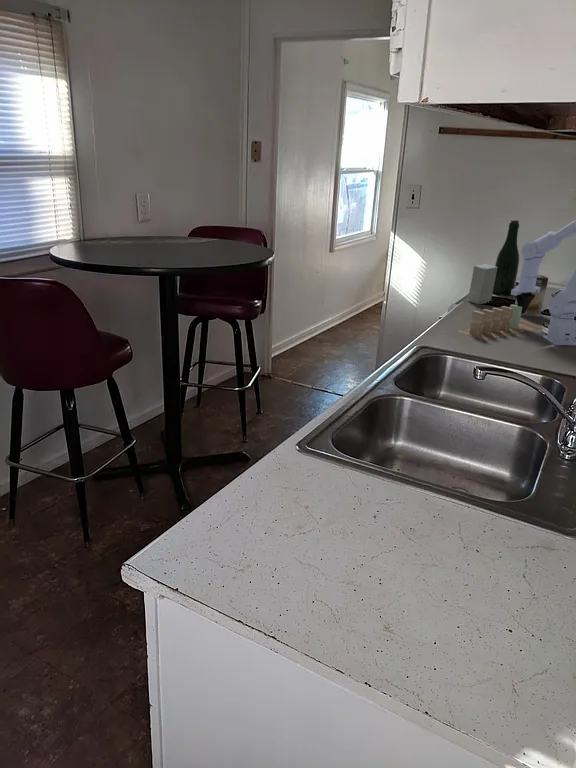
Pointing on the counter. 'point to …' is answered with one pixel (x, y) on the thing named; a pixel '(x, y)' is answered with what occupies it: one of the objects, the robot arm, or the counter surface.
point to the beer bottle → (507, 262)
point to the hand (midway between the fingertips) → (521, 312)
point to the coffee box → (537, 298)
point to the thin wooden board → (523, 327)
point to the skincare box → (482, 283)
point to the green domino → (515, 316)
